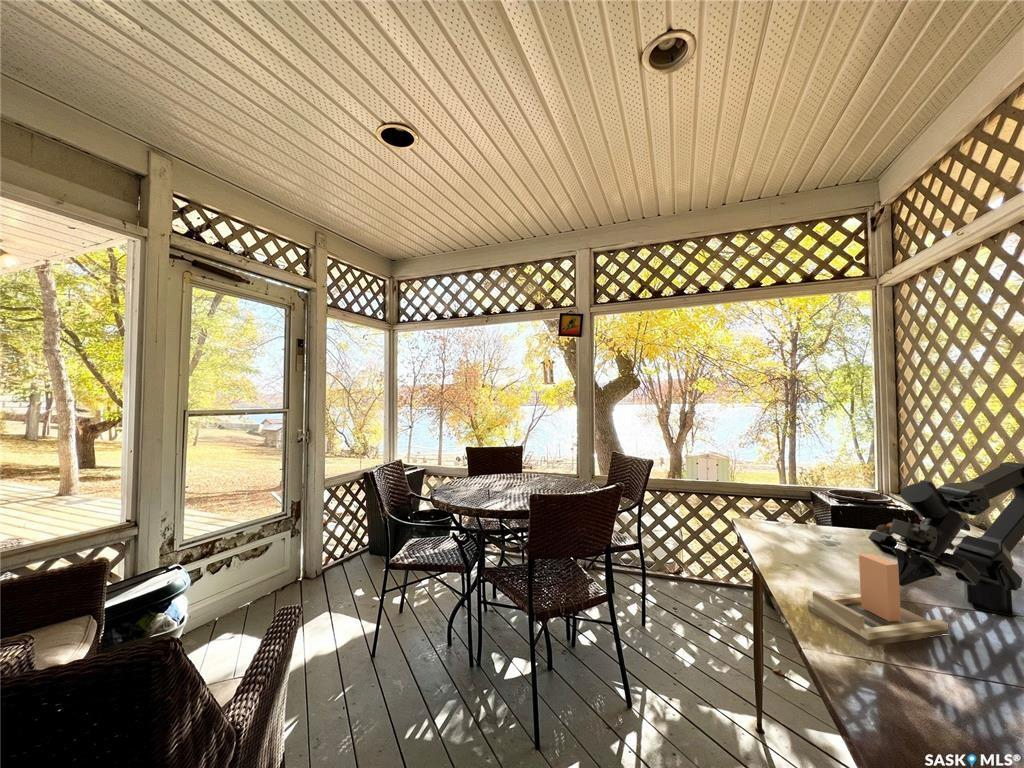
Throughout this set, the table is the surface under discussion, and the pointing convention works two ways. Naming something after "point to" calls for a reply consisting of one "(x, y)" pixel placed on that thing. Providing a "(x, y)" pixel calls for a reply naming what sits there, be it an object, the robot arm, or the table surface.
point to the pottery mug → (884, 528)
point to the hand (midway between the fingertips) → (898, 584)
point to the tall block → (880, 587)
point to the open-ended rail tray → (872, 620)
